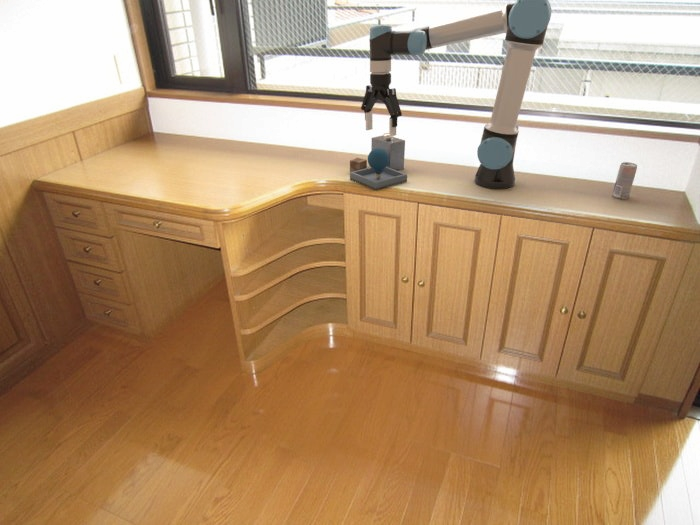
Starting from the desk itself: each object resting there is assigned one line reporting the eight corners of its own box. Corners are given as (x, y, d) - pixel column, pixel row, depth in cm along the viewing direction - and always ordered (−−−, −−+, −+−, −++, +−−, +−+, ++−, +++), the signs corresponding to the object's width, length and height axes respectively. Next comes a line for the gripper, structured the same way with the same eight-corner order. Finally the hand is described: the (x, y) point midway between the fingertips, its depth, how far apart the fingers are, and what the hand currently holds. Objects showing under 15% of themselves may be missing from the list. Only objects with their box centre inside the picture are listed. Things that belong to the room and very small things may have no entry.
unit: (403, 168, 207) (405, 135, 201) (389, 172, 203) (390, 138, 196) (384, 162, 216) (385, 130, 209) (370, 165, 212) (371, 132, 205)
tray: (406, 181, 193) (407, 174, 191) (375, 190, 184) (376, 182, 183) (380, 171, 204) (380, 164, 202) (350, 179, 195) (349, 172, 194)
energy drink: (623, 193, 179) (632, 162, 174) (631, 199, 175) (640, 166, 169) (609, 194, 179) (617, 162, 173) (616, 199, 174) (625, 166, 169)
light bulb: (389, 175, 197) (389, 145, 191) (388, 181, 189) (388, 151, 184) (368, 175, 198) (368, 145, 192) (367, 181, 190) (366, 151, 185)
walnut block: (366, 171, 205) (366, 159, 202) (359, 174, 201) (359, 162, 199) (357, 169, 207) (357, 157, 205) (349, 172, 204) (349, 160, 201)
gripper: (412, 74, 168) (410, 136, 178) (366, 69, 186) (367, 125, 195) (396, 76, 164) (395, 140, 174) (350, 71, 182) (352, 128, 191)
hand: (380, 132), depth 185 cm, fingers open, 13 cm apart
